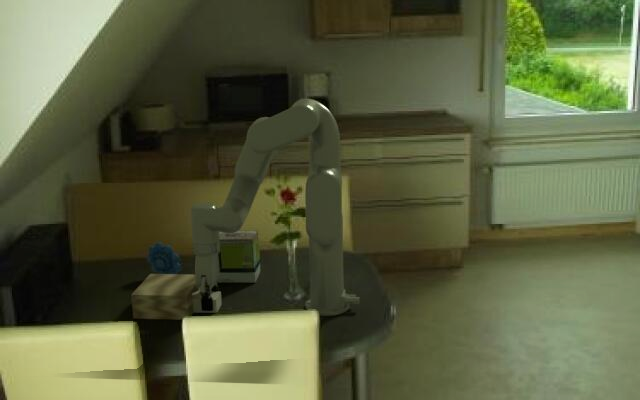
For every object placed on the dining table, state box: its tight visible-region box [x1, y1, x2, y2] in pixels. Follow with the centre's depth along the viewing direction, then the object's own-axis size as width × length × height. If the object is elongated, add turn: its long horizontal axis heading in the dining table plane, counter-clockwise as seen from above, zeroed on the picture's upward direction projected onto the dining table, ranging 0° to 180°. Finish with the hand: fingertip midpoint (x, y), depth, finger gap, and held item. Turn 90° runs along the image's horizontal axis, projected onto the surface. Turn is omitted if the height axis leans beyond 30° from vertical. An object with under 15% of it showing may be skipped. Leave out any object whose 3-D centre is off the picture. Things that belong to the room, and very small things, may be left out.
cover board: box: [192, 290, 223, 314], centre depth 204 cm, size 16×6×4 cm, turn 85°
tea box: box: [217, 229, 261, 284], centre depth 225 cm, size 15×10×15 cm, turn 84°
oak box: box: [130, 273, 200, 320], centre depth 205 cm, size 16×16×7 cm
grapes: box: [146, 242, 182, 274], centre depth 226 cm, size 12×7×12 cm, turn 76°
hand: (210, 305), depth 204 cm, fingers closed on cover board, 6 cm apart
